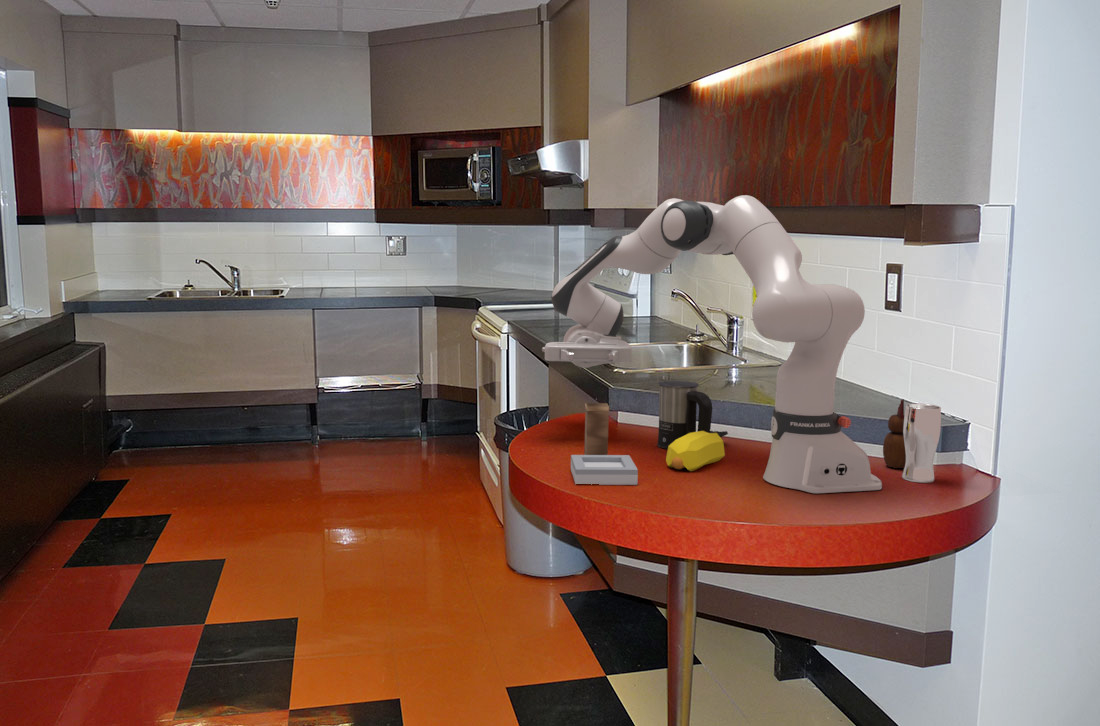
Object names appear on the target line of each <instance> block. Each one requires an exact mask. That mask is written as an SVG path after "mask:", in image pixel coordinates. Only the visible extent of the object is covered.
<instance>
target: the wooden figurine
mask: <svg viewBox="0 0 1100 726" xmlns="http://www.w3.org/2000/svg"><path fill="white" fill-rule="evenodd" d="M904 403H905V399H904V398H902V399H900V403H899V405H898V408H897V411H896V412H897V413H896V414H892V415H890V417H889V418H888V423H887V428H888V430H889V431H890V432H888V433H887V434H886V435H885V437H884V440H883V444H882V455H883V456H882V457H883V459H884V464H885V465H886V466H888V468H891V467H893V468H892V469H895V468H903V469H904V467H905V447H904V438H903V424H904V415H905V407H904V406H905V404H904Z"/></svg>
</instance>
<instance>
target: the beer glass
mask: <svg viewBox="0 0 1100 726" xmlns="http://www.w3.org/2000/svg"><path fill="white" fill-rule="evenodd" d="M941 410H942V407H941V406H938V405H935V404H929V403H916V402H915V403H907V404H905V408H904V424H903V438H904V447H905V467H904V468H903V471H902V475H901V478H902V479H903V480H906V481H908V482H912V483H919V484H920V483H921V484H928V483H934V481H935V474H934V461H935V456H936V452H937V449H938V446H939V445H938V444H939V441H940V436H941V431H942V430H941V429H942V428H941V426H942V425H941V424H942V413H941V412H942V411H941Z"/></svg>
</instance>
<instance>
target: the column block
mask: <svg viewBox="0 0 1100 726" xmlns="http://www.w3.org/2000/svg"><path fill="white" fill-rule="evenodd" d="M584 406H585V410H584V413H585V414H584V417H585V418H584V449H583V450H584V452H583V453H584V454H583V455H609V454H608V453H609V452H608V449H609V421H610V419H609V414H610V406H609V405H608V403H606V402H604V403H603V402H586V403H584Z"/></svg>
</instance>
